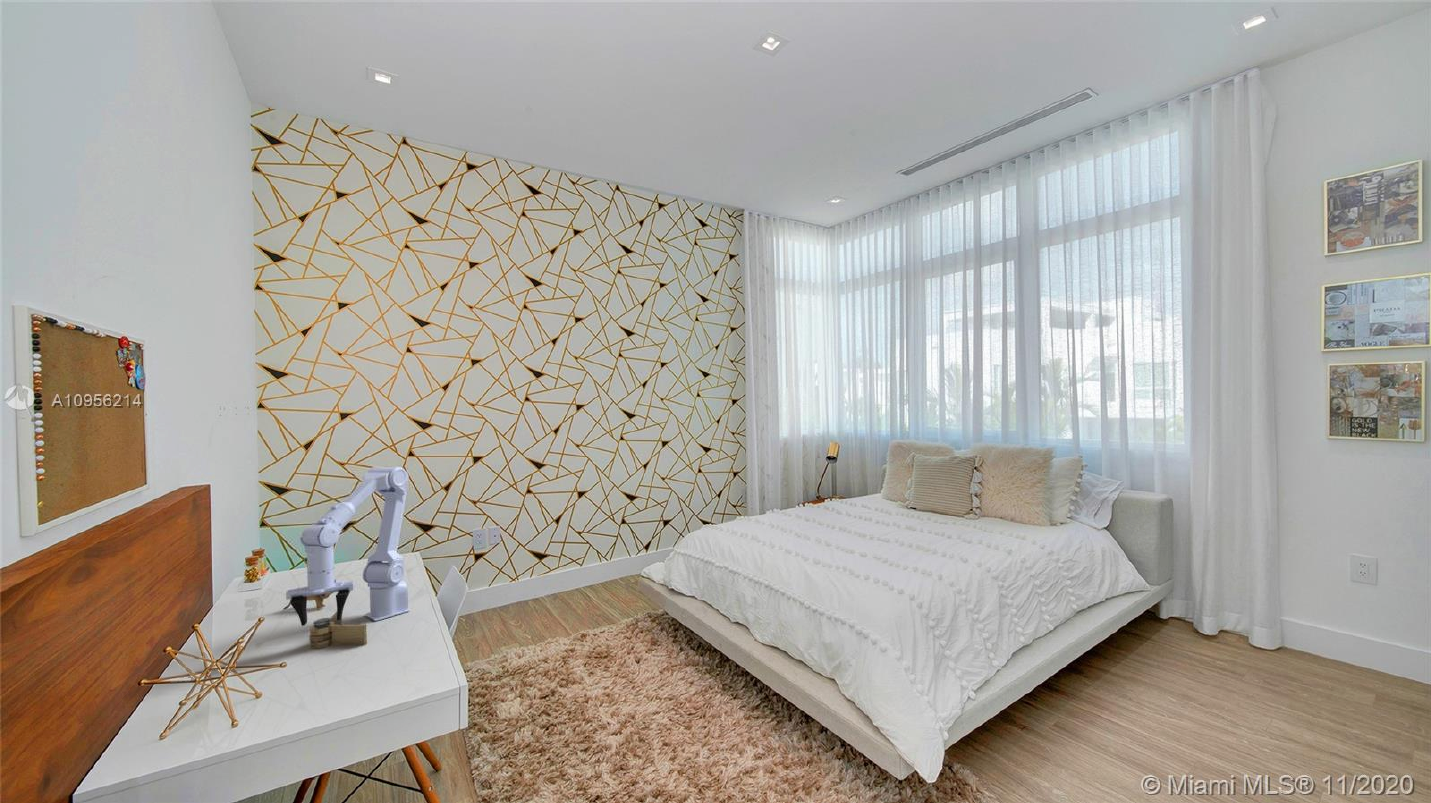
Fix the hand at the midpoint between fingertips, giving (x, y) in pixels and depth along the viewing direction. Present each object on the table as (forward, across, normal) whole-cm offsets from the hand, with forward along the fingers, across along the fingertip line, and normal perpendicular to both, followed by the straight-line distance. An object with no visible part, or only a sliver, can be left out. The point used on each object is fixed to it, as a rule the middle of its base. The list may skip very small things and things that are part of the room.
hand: (322, 621), depth 142 cm
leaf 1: (+6, +1, +5) cm, 7 cm away
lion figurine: (+6, -10, +34) cm, 36 cm away
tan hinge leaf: (+6, +4, -2) cm, 8 cm away
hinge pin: (+6, 0, 0) cm, 6 cm away
